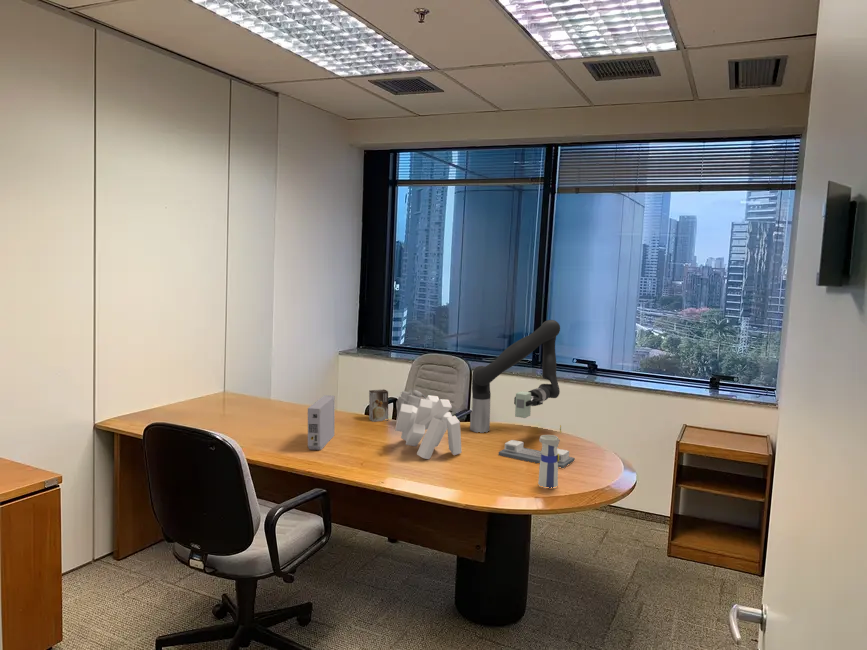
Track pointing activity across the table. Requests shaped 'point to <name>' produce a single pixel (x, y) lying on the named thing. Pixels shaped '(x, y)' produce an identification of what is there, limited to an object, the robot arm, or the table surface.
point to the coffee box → (378, 405)
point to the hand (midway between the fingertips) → (520, 403)
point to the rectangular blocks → (518, 445)
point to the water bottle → (549, 461)
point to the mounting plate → (532, 453)
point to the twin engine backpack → (409, 399)
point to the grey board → (531, 459)
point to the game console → (321, 422)
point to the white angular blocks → (429, 425)
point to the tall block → (522, 404)
